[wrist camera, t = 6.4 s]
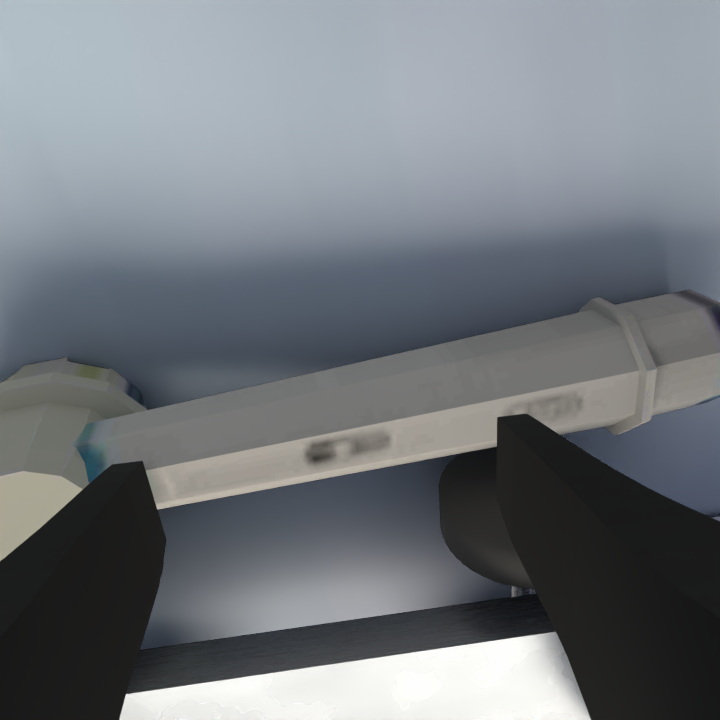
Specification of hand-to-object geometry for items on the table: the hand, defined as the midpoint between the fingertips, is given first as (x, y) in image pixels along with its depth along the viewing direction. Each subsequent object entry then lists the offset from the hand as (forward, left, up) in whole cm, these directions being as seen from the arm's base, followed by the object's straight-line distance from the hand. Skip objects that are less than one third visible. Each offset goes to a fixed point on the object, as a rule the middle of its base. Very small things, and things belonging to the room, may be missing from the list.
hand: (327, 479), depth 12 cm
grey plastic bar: (0, +3, -10) cm, 10 cm away
